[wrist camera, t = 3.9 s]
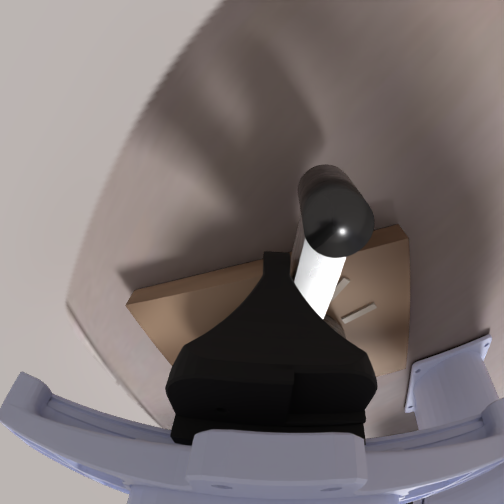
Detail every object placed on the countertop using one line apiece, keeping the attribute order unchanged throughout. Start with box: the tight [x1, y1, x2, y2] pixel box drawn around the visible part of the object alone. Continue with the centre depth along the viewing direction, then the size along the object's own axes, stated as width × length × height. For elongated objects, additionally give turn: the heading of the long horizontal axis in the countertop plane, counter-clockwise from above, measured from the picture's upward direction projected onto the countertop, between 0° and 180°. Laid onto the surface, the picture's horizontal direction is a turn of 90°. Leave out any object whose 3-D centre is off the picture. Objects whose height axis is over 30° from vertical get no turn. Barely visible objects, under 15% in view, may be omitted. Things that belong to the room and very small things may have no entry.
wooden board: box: [126, 224, 410, 377], centre depth 17 cm, size 11×16×2 cm
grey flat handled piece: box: [290, 165, 374, 339], centre depth 13 cm, size 15×8×3 cm, turn 173°
